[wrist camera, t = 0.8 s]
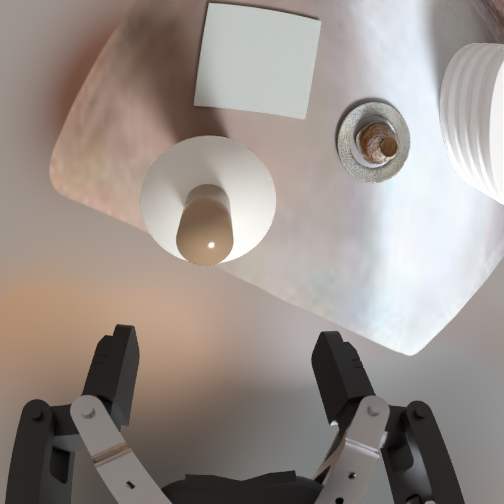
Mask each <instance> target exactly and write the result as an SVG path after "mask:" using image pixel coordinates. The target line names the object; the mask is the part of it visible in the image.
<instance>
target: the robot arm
mask: <svg viewBox="0 0 504 504" xmlns="http://www.w3.org/2000/svg"><path fill="white" fill-rule="evenodd" d="M139 357H140V355H139V346H138V342H137V336H136V331H135V327H134V326H131V325H120V324H117V325H116V327H115V330H114V333H113V336H108V335H105V336H104V337H103V338H102V339H101V340H100V341H99V343H98V344H97V347H96V350H95V355H94V356H93V360H92V363H91V366H90V369H89V372H88V376H87V379H86V383H85V386H84V390H83V393H82V395H81V396H80V397H78V398H77V399H75V400H74V401H73V403H72V404H69V405H63V406H52V407H50V406H49V405H48V404H47V403H46V402H45V401H43V400H39V399H36V400H31V401H29V402H28V403H27V404H26V405H25V406H24V408H23V410H22V414H21V418H20V422H19V426H18V430H17V434H16V438H15V443H14V448H13V452H12V458H11V463H10V469H9V476H8V484H7V490H6V500H5V504H71V491H72V477H73V467H74V458H75V451H85V450H88V451H89V452H90V454H91V456H92V458H93V463H94V465H95V467H96V469H97V470H98V472H99V474H100V475H101V477H102V479H103V480H104V482H105V484H106V485H107V487H108V488H109V490H110V491H111V493H112V494H113V496H114V497H115V499H116V500H117V501H118V503H119V504H360V503H361V500H362V499H363V497H364V494H365V492H366V490H367V488H368V485H369V483H370V481H371V478H372V476H373V473H374V471H375V468H376V465H377V463H378V460H379V456H380V454H379V453H377V450H378V447H379V448H380V450H381V453H382V457H383V460H384V464H385V468H386V472H387V475H388V479H389V483H390V487H391V491H392V495H393V499H394V503H395V504H465V503H464V499H463V496H462V493H461V489H460V486H459V483H458V480H457V477H456V474H455V471H454V468H453V465H452V463H451V460H450V457H449V454H448V451H447V449H446V446H445V443H444V441H443V438H442V436H441V433H440V430H439V428H438V425H437V423H436V420H435V418H434V416H433V413H432V411H431V409H430V407H429V406H428V405H427V404H425V403H424V402H422V401H413V402H411V403H410V404H409V405H408V406H407V407H399V406H391V405H388V404H387V402H386V401H385V400H384V399H382V398H380V397H378V396H376V395H375V393H374V390H373V388H372V386H371V383H370V381H369V379H368V376H367V374H366V372H365V369H364V368H363V365H362V362H361V361H360V358H359V356H358V353H357V351H356V349H355V348H354V347H353V346H352V345H351V344H350V343H349V342H343V339H342V337H341V335H340V333H339V332H338V331H325V332H321V333H320V335H319V337H318V340H317V343H316V345H315V348H314V351H313V353H312V358H311V361H312V368H313V371H314V374H315V377H316V381H317V384H318V388H319V391H320V395H321V398H322V401H323V404H324V408H325V412H326V415H327V419H328V422H329V425H336V424H338V426H339V431H338V432H337V434H336V436H335V439H334V440H333V442H332V444H331V446H330V448H329V450H328V452H327V454H326V456H325V458H324V460H323V462H322V464H321V465H320V466H319V468H318V469H317V471H316V472H315V473H314V475H313V476H312V478H311V479H308V478H305V477H301V476H296V474H295V471H286V472H276V473H268V474H265V475H261V476H258V477H255V478H251V479H248V480H244V481H239V480H233V479H228V478H223V477H218V476H214V475H189V474H186V476H185V477H186V479H184V480H179V481H175V482H173V483H170V484H168V485H166V486H164V487H163V488H161V489H160V488H159V487H158V486H157V485H156V483H155V482H154V481H153V479H152V478H151V477H150V476H149V474H148V473H147V472H146V470H145V469H144V467H143V466H142V465H141V463H140V462H139V461H138V459H137V458H136V456H135V455H134V453H133V452H132V450H131V449H130V447H129V446H128V445H127V443H126V442H125V440H124V439H123V437H122V436H121V434H120V428H121V425H126V426H128V425H129V418H130V411H131V405H132V399H133V393H134V387H135V381H136V376H137V370H138V365H139Z"/></svg>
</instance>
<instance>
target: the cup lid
mask: <svg viewBox="0 0 504 504" xmlns="http://www.w3.org/2000/svg"><path fill="white" fill-rule="evenodd" d="M140 203H141V212H142V216H143V220H144V222H145V225H146V227H147V229H148V231H149V233H150V234H151V235H152V237H153V238H154V239H155V240H156V242H157V243H158V244H159V245H160V246H161V247H163V248H164V249H165V250H166V251H168V252H169V253H171V254H172V255H175V256H176V257H178V258H181V259H183V260H186V261H189V262H191V263H193V264H196V265H200V266H210V265H215V264H217V263H222V262H227V261H230V260H233V259H235V258H238V257H240V256H242V255H244V254H245V253H247V252H248V251H250V250H251V249H252V248H254V247H255V246H256V245H257V244H258V243H259V242H260V241H261V240H262V238H263V237H264V236H265V234H266V233H267V231H268V229H269V228H270V226H271V223H272V221H273V218H274V214H275V208H276V193H275V187H274V184H273V181H272V178H271V176H270V174H269V172H268V170H267V168H266V167H265V165H264V164H263V162H262V161H261V159H260V158H259V157H258V156H257V155H256V154H255V153H254V152H253V151H251V150H250V149H249V148H248V147H246V146H244V145H243V144H241V143H239V142H237V141H235V140H232V139H229V138H226V137H221V136H211V135H204V136H196V137H192V138H188V139H185V140H183V141H180V142H178V143H176V144H175V145H173V146H171V147H170V148H168V149H167V150H166V151H165V152H163V153H162V154H161V155H160V156H159V157H158V158H157V160H156V161H155V162H154V163H153V165H152V166H151V168H150V169H149V171H148V173H147V175H146V177H145V179H144V182H143V185H142V190H141V199H140Z"/></svg>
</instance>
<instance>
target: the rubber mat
mask: <svg viewBox="0 0 504 504" xmlns="http://www.w3.org/2000/svg"><path fill="white" fill-rule="evenodd" d="M320 28H321V21H318V20H314V19H310V18H306V17H302V16H297V15H293V14H288V13H283V12H278V11H272V10H267V9H260V8H254V7H246V6H238V5H228V4H217V3H209V6H208V12H207V17H206V23H205V29H204V35H203V41H202V47H201V54H200V61H199V68H198V75H197V82H196V90H195V98H194V106H205V107H218V108H228V109H237V110H246V111H254V112H261V113H269V114H275V115H281V116H288V117H293V118H299V119H304V120H305V117H306V112H307V106H308V100H309V95H310V89H311V83H312V77H313V71H314V65H315V59H316V53H317V47H318V41H319V34H320Z"/></svg>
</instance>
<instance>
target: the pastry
mask: <svg viewBox="0 0 504 504" xmlns="http://www.w3.org/2000/svg"><path fill="white" fill-rule="evenodd" d="M374 115H375V116H380V117H383V118H384V119H386V120H387V121H388V122H389V123H390V124H391V125H392V126H393V128H394V130H395V133H396V134H395V133H394V131H393V130H392V129H391V128H390V127H389V126H388V125H387V124H386V123H384V122H381V121H373V122H371V123H369V124H367V125H366V126H365V127H364V128H363V129H362V130H361V131H360V132H359V133H358V134H357V137H356V143H357V148H358V150H359V152H360V154H361V155H362V157H363V158H364V160H365V161H367V162H368V163H369V164H380V163H383V162H386V161H388V160H389V161H388V162H387V163H386V164H384V165H383V166H380V167H377V168H368V167H365V166H363V165H361V164H360V163H358V162H357V161H356V160H355V158H354V157H353V155H352V152H351V149H350V136H351V132H352V130H353V128H354V126H355V125H356V124H357V123H358V122H359V121H360V120H361V119H363V118H365V117H367V116H374ZM337 140H338V152H339V153H338V154H339V157H340V159H341V161H342V163H343V165H344V167H345V168H346V170H347V171H348V172H349V173H350V174H351V175H352V176H354V177H355V178H356V179H358V180H360V181H363V182H367V183H379V182H383V181H385V180H388V179H390V178H392V177H393V176H395V175H396V174H397V173H398V172H399V171H400V170H401V168H402V167H403V165H404V163H405V162H406V160H407V158H408V154H409V149H410V133H409V129H408V127H407V125H406V122H405V120H404V119H403V117H402V116H401V115H400V114H399V113H398V111H397V110H395V109H394V108H393V107H391V106H389V105H387V104H384V103H380V102H368V103H365V104H361V105H359V106H357V107H356V108H354V109H353V110H352V111H350V112H349V114H348V115H347V116H346V117H345V119H344V120H343V122H342V125H341V127H340V129H339V134H338V139H337Z"/></svg>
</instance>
